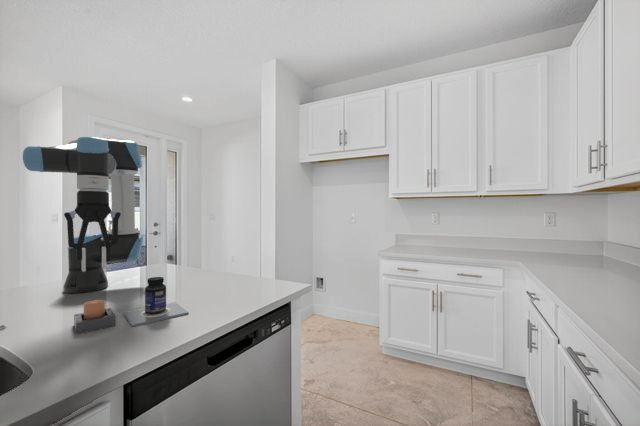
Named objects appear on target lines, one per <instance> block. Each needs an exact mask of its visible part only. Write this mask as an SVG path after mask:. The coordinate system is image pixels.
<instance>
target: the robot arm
mask: <svg viewBox="0 0 640 426" xmlns="http://www.w3.org/2000/svg"><path fill="white" fill-rule="evenodd" d="M22 163H23V165H24V167H25V169H27V170H28V171H30V172H38V173H69V174H76V189H77V190H78V191H77V192H76V206H75V208H74V210H71V211H69V212H64V213H63V216H64V218H65V219H66V224H67V225H66V229H67V244H68V246H67V247H68V248H67V250H68V251H67V252H68V256H67V257H68V259H67V260H68V272H67V273H68V274H67V276H66V279H65V281H64V284H63V287H62V289H63V291H62V292H63V293H65V294H81V293H82V294H83V293H91V292H95V291H99V290H102V289H105V288H107V287H108V286H109V281H108V278H107V275H106V274H105V271H104V270H107V264H111V263H112V264H113V263H114V264H115V263H125V262H126V263H128V262H137V261H138V260H139V259H140V257H141V254H142V249H143V237H144V236H143V235H142V234H140V231H139V230H138V229H136V223H135V222H136V217H135V216H136V215H135V212H136V211H135V210H136V209H135V205H136V204H135V175H136V174H138V172H139V169H141V168H142V167H143V164H142V156H141V151H140V146H139V143H137V142H136V141H133V140H126V139H115V138H103V137H102V138H101V137H95V136H93V137H92V136H81V137H78V138H77V139H75V140H71V141H69V142H68V143H66V144H62V145H61V144H60V145H55V146H40V145H37V146H32V145H31V146H26V147H25V148H24V149H23V152H22ZM109 176H110V180H109ZM109 181H110V185H109ZM110 188H111V189H110ZM109 189H110V192H111V195H110V193H109ZM110 196H111V199H109V198H110ZM110 200H111V206H110ZM76 215H77V216H78V217H79V218H80V219H81V220H82V223H81V226H80V227H81V228H80V231H79V235H78V236H75V234H74V233H75V231H74V221H73V219H75V218H76ZM109 215H110V217H111V229H110V230H109V231H108V230H107V227H106V222H105V219H106V218H107V217H108V216H109ZM94 222H95V223H97V224H98V225H99V229H100V233H93V234H87V230H88V226H89V223H94Z"/></svg>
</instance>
